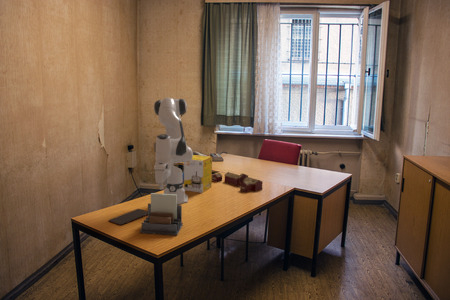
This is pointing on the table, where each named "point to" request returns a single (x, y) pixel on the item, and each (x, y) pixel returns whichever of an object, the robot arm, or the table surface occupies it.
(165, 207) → the white thin panel
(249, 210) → the table surface
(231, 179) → the toy houses
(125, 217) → the smartphone
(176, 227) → the rack
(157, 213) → the block
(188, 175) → the packaging box
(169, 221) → the offcut front
